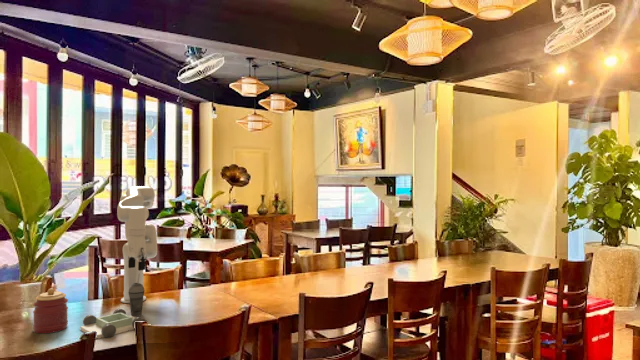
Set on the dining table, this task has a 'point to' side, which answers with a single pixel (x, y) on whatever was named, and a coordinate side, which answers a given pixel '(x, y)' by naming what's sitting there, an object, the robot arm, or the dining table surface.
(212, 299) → the dining table surface
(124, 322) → the chassis bay
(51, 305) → the canister
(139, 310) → the beverage cup
